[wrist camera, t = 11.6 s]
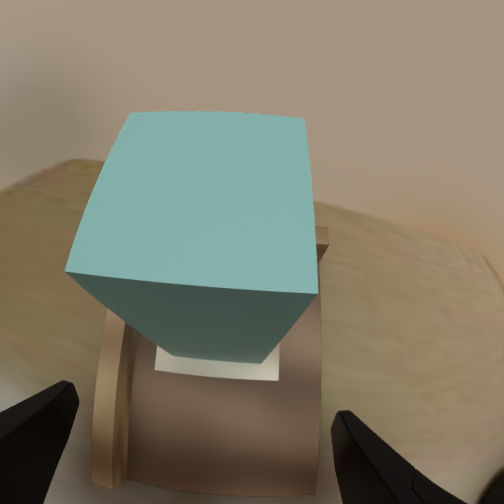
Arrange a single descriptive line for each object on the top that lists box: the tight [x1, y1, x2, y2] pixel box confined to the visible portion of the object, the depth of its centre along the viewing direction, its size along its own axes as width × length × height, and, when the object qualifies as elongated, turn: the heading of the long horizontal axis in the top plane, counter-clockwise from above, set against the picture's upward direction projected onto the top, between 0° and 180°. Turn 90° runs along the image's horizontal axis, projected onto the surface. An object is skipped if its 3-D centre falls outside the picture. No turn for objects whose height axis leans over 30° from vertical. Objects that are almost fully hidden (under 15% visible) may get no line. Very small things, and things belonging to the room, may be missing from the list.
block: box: [65, 111, 318, 364], centre depth 12 cm, size 5×5×12 cm
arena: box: [92, 226, 329, 497], centre depth 15 cm, size 16×12×3 cm
